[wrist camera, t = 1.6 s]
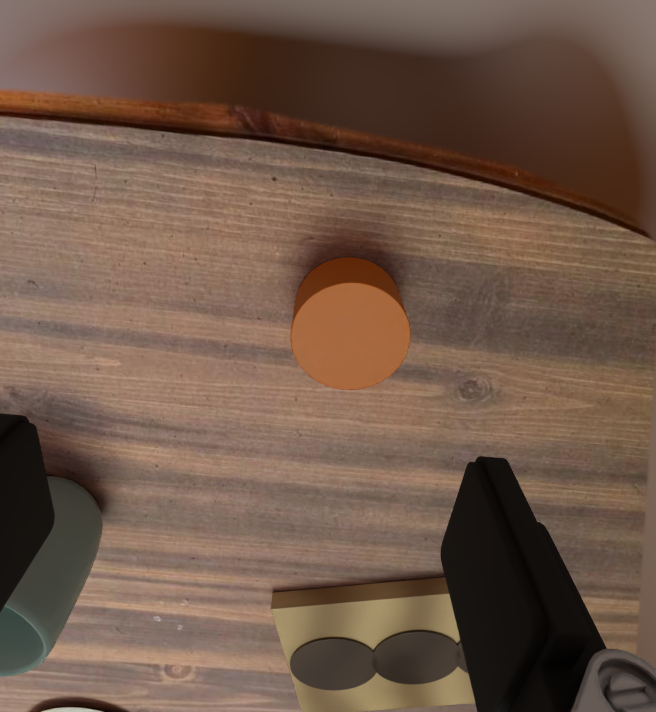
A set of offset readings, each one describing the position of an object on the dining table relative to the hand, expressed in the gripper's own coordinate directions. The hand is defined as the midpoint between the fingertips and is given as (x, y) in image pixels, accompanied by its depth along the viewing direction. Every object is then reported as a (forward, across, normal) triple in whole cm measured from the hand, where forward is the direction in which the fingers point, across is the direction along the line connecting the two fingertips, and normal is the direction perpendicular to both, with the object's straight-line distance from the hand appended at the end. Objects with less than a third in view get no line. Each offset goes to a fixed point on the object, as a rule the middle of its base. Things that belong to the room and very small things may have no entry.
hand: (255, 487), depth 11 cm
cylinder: (+18, -3, +3) cm, 18 cm away
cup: (+18, +15, +20) cm, 31 cm away
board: (+18, -13, +33) cm, 40 cm away
